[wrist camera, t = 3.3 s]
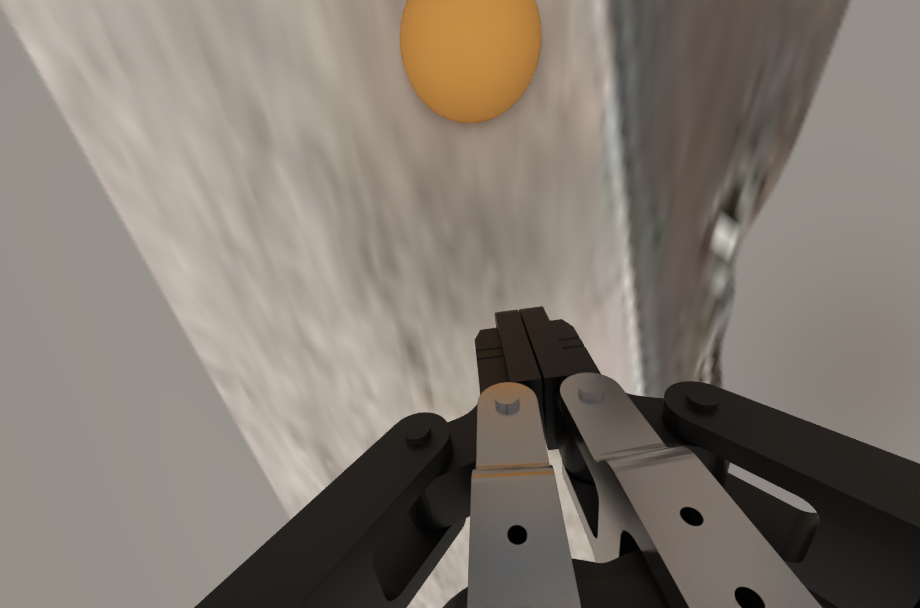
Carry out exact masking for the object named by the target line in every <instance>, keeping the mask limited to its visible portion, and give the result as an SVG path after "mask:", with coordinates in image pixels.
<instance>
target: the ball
mask: <svg viewBox="0 0 920 608" xmlns="http://www.w3.org/2000/svg"><path fill="white" fill-rule="evenodd" d="M400 48H401V56H402V60H403V65H404V68H405V71H406V74H407V77H408V79H409V81H410V83H411V85H412V87H413V89H414V90H415V92H416V93H417V95H418V96H419V97H420V98H421V100H422V101H423V102H424V103H425V104H426V105H427V106H428V107H429V108H430V109H432V110H433V111H434V112H436V113H437V114H439V115H441V116H443V117H444V118H447V119H449V120H452V121H456V122H461V123H479V122H483V121H487V120H490V119H492V118H495V117H497V116H498V115H500V114H502V113H504V112H505V111H506V110H508V109H509V108H510V107H511V106H512V105H513V104H514V103H516V102H517V101H518V99H519V98H520V97H521V96H522V94H523V93H524V92H525V90H526V89H527V87H528V85H529V84H530V82H531V80H532V77H533V75H534V73H535V70H536V67H537V64H538V59H539V55H540V48H541V22H540V16H539V11H538V7H537V4H536V1H535V0H407V2H406V5H405V8H404V11H403V16H402V20H401V28H400Z"/></svg>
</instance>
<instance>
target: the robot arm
mask: <svg viewBox="0 0 920 608" xmlns="http://www.w3.org/2000/svg"><path fill="white" fill-rule="evenodd" d="M495 322H496V328H492V329H484V330H480V332H479V333H478V335H477V337H476V339H475V346H476V356H477V366H478V376H479V385H480V396H479V399H478V403H477V405H476V406H475V407H474V408H473V409H472V410H471V411H470V412H469V413H468V414H466V415H464V416H462V417H460V418H458V419H455V420H453V421H450V422H446V420H445V419H444V418H443V417H441V416H439V415H437V414H434V413H426V412H424V413H417V414H413V415H410V416H408V417H405V418H404V419H402V420H400V421H399V422H398V423H397V424H396V425H394V426H393V427H392V428H391V429H390V430H389V431H388V432H387V433H386V434H385V435H383V436H382V437H381V438H380V439H379V440H378V441H377V442H376V443H375V444H374V445H372V446H371V447H370V448H369V449H368V450H367V451H366V452H365V453H364V454H363V455H361V456H360V457H359V458H358V459H357V460H356V461H355V462H354V463H353V464H352V465H350V466H349V467H348V468H347V469H346V470H345V471H344V472H343V473H342V474H341V475H339V476H338V477H337V478H336V479H335V480H334V481H333V482H332V483H331V484H330V485H328V486H327V487H326V488H325V489H324V490H323V491H322V492H321V493H320V494H319V495H317V496H316V497H315V498H314V499H313V500H312V501H311V502H310V503H309V504H308V505H306V506H305V507H304V508H303V509H302V510H301V511H300V512H299V513H298V514H297V515H295V516H294V517H293V518H292V519H291V520H290V521H289V522H288V523H287V524H286V525H285V526H283V527H282V528H281V529H280V530H279V531H278V532H277V533H276V534H275V535H273V536H272V537H271V538H270V539H269V540H268V541H267V542H266V543H265V544H264V545H263V546H261V547H260V548H259V549H258V550H257V551H256V552H255V553H254V554H253V555H252V556H251V557H249V559H247V560H246V561H245V562H244V563H243V564H242V565H241V566H239V567H238V568H237V569H236V570H235V571H234V572H233V573H232V574H231V575H230V576H228V577H227V578H226V579H225V580H224V581H223V582H222V583H221V584H220V585H219V586H217V587H216V588H215V589H214V590H213V591H212V592H211V593H210V594H209V595H208V596H206V597H205V598H204V599H203V600H202V601H201V602H200V603H199V604H198V605H197V606H195V607H194V608H406V607H407V606H408V605H409V603H410V602H411V600H412V599H413V598H414V596H415V595H416V593H417V592H418V591H419V589H420V588H421V586H422V585H423V583H424V582H425V581H426V579H427V578H428V576H429V575H430V574H431V572H432V571H433V569H434V568H435V566H436V565H437V564H438V562H439V561H440V559H441V558H442V557H443V555H444V554H445V552H446V551H447V549H448V548H449V547H450V545H451V544H452V542H453V541H454V540H455V538H456V537H457V535H458V534H459V532H460V531H461V530H462V528H463V526H464V524H465V521H466V518H467V517H469V516H470V538H469V568H468V587H467V588H465V589H463V590H462V591H461V592H459V593H458V594H457V595H455V596H454V597H453V598H452V599H450V600H449V601H448V603H447V604H446V605H445V606H444V607H443V608H920V464H919V463H916V462H914V461H911V460H908V459H905V458H903V457H900V456H898V455H895V454H893V453H890V452H887V451H884V450H882V449H879V448H877V447H874V446H871V445H868V444H866V443H863V442H861V441H858V440H856V439H853V438H850V437H848V436H845V435H842V434H840V433H837V432H835V431H832V430H829V429H826V428H824V427H821V426H819V425H816V424H814V423H811V422H808V421H805V420H803V419H800V418H797V417H795V416H792V415H789V414H787V413H785V412H782V411H779V410H777V409H774V408H771V407H769V406H766V405H763V404H761V403H758V402H755V401H753V400H750V399H748V398H745V397H742V396H740V395H737V394H734V393H732V392H729V391H727V390H724V389H721V388H719V387H716V386H713V385H710V384H706V383H702V382H693V381H687V382H679V383H676V384H673V385H671V386H670V387H669V388H667V390H666V391H665V394H664V398H654V397H644V396H636V395H631V394H628V393H625V392H624V390H623V389H622V388H621V386H620V385H619V384H618V383H617V382H616V381H614V380H613V379H611V378H609V377H607V376H605V375H601V373H600V372H599V370H598V368H597V366H596V365H595V363H594V361H593V360H592V358H591V356H590V354H589V353H588V351H587V349H586V348H585V347H584V344H583V342H582V341H581V339H579V336H578V334H577V332H576V330H575V329H574V327H573V326H571V325H570V324H568V323H567V322H565V321H564V320H562V319H560V320H553V321H550V320H549V318H548V316H547V314H546V312H545V310H544V308H543V307H542V306H541V307H533V308H526V309H519V312H518V310H511V311H503V312H496V313H495ZM545 442H546V443H545ZM546 445H547V448H548V450H554V449H559V452H560V455H561V458H562V474H563V478H564V480H565V483H566V485H567V488H568V490H569V493H570V495H571V498H572V500H573V503H574V505H575V508H576V510H577V513H578V515H579V518H580V520H581V523H582V525H583V528H584V530H585V533H586V535H587V538H588V540H589V543H590V545H591V548H592V551H593V554H594V558H595V562H590V561H584V560H578V559H572V558H571V554H570V549H569V544H568V539H567V534H566V528H565V523H564V518H563V513H562V508H561V503H560V498H559V493H558V488H557V483H556V478H555V473H554V469H553V466H552V465H550V464H549V459H548V454H547V449H546ZM730 462H731V463H733V464H735V465H737V466H739V467H741V468H743V469H745V470H747V471H749V472H751V473H753V474H755V475H757V476H759V477H761V478H763V479H765V480H767V481H769V482H771V483H773V484H775V485H777V486H779V487H781V488H783V489H785V490H787V491H789V492H791V493H793V494H795V495H797V496H799V497H800V498H802V499H804V500H805V501H807V502H808V503H809V504H810V505H811V506H812V507H813V508H814V509H815V510H816V511H817V513H809V512H805V511H802V510H799V509H797V508H795V507H793V506H791V505H789V504H787V503H785V502H783V501H781V500H780V499H778V498H776V497H774V496H772V495H770V494H768V493H766V492H764V491H762V490H760V489H758V488H757V487H755V486H753V485H751V484H749V483H747V482H745V481H743V480H741V479H739V478H737V477H735V476H733V475H731V474H729V473H728V468H729V465H730Z"/></svg>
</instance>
